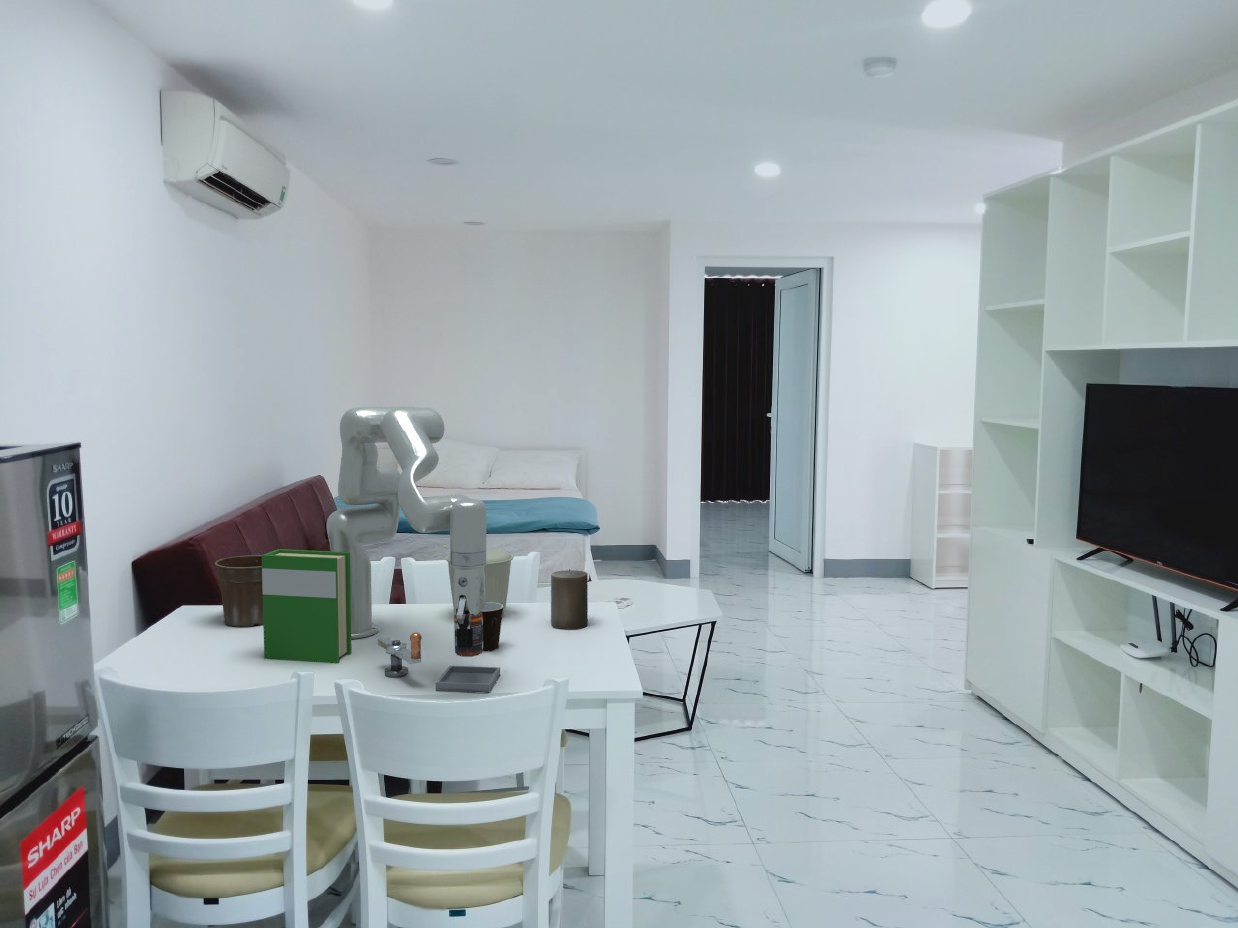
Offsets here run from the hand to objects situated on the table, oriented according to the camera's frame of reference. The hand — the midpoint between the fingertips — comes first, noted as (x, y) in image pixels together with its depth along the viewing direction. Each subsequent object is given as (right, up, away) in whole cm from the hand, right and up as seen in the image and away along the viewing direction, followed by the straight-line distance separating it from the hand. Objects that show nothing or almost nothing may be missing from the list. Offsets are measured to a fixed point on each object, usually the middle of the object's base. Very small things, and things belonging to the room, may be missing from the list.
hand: (468, 641), depth 196 cm
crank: (-15, -3, +4) cm, 16 cm away
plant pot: (-65, -4, +47) cm, 80 cm away
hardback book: (-40, -7, +18) cm, 44 cm away
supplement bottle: (0, -3, 0) cm, 3 cm away
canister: (-6, -4, +54) cm, 55 cm away
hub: (-17, -8, +6) cm, 20 cm away
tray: (0, -9, +1) cm, 9 cm away
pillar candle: (+19, -5, +47) cm, 51 cm away
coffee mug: (0, -7, +25) cm, 26 cm away
